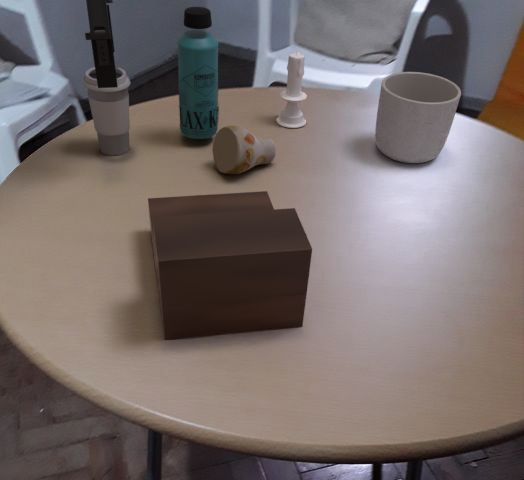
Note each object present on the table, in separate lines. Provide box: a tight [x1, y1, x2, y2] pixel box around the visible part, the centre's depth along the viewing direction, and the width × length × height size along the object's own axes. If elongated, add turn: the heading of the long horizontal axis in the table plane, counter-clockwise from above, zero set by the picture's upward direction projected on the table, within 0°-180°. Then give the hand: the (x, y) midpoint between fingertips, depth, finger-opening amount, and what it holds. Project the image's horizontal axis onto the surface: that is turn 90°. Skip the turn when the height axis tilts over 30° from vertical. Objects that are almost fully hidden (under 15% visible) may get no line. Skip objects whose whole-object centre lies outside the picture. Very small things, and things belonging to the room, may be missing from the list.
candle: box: [275, 50, 308, 129], centre depth 108 cm, size 5×5×12 cm
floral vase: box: [211, 125, 277, 175], centre depth 97 cm, size 8×10×10 cm
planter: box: [374, 71, 462, 164], centre depth 102 cm, size 12×12×11 cm
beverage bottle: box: [176, 6, 220, 140], centre depth 98 cm, size 6×7×20 cm
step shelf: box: [147, 190, 313, 341], centre depth 76 cm, size 22×16×11 cm
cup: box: [82, 66, 131, 156], centre depth 97 cm, size 7×7×12 cm
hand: (106, 68), depth 93 cm, fingers open, 13 cm apart
